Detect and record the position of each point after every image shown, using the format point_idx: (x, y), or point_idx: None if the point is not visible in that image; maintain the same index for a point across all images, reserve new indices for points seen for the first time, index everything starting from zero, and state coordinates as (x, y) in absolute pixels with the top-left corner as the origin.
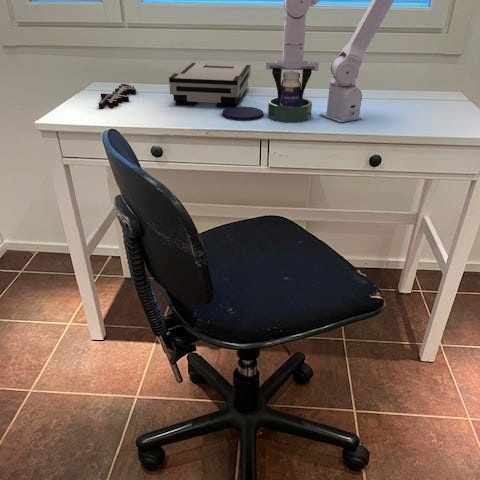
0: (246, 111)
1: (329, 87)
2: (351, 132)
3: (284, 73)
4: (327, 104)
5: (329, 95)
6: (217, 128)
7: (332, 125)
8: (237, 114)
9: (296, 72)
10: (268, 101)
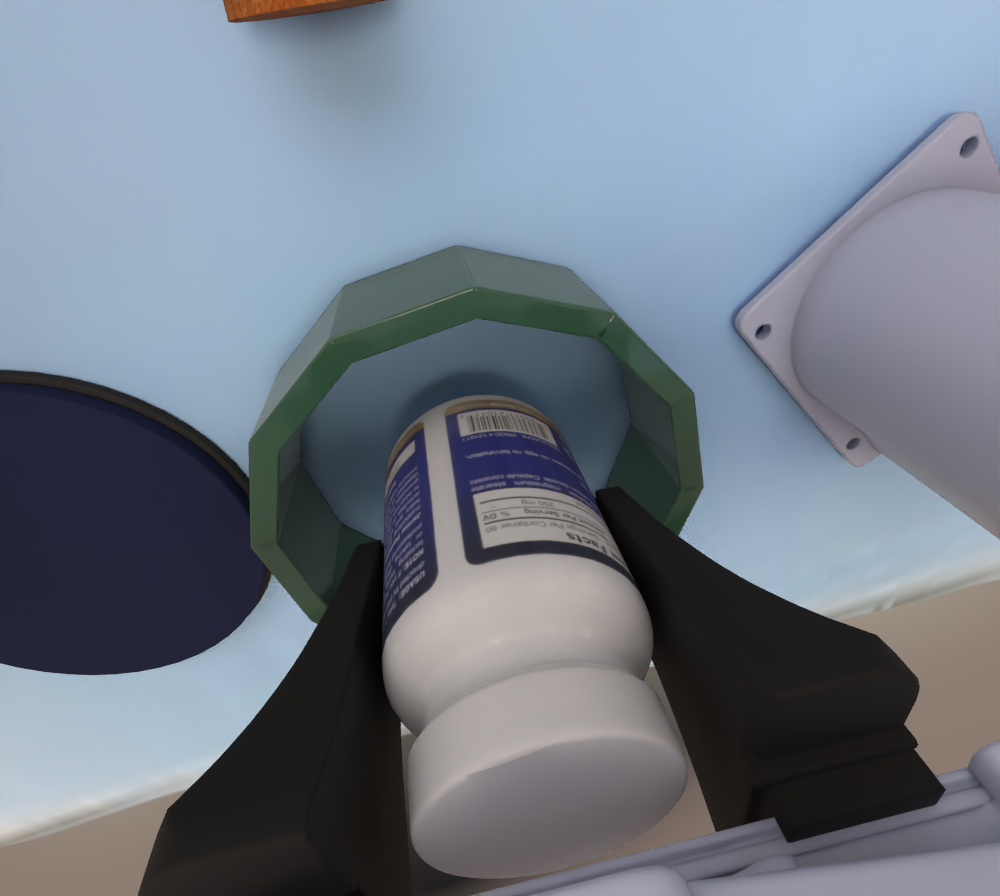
0: (88, 543)
1: (998, 471)
2: (861, 583)
3: (449, 873)
4: (849, 374)
5: (923, 451)
6: (145, 779)
7: (785, 517)
8: (85, 631)
9: (628, 771)
10: (276, 578)
